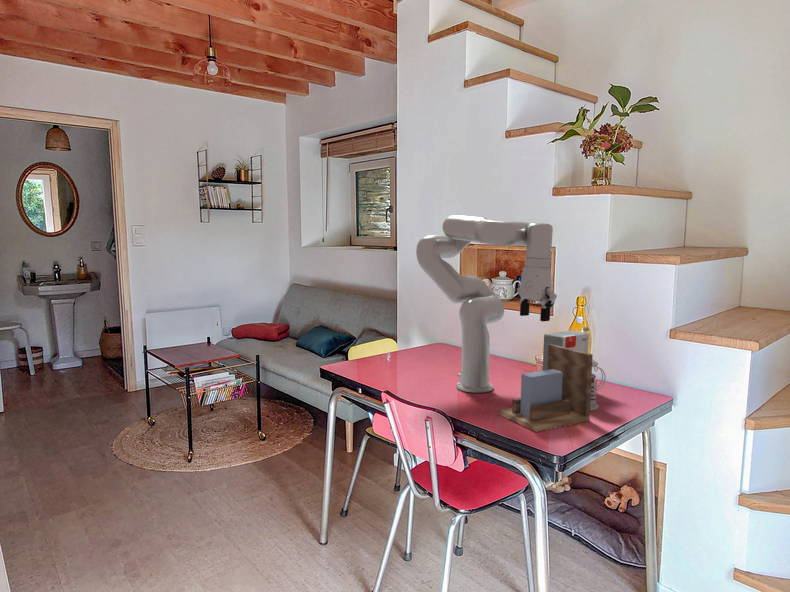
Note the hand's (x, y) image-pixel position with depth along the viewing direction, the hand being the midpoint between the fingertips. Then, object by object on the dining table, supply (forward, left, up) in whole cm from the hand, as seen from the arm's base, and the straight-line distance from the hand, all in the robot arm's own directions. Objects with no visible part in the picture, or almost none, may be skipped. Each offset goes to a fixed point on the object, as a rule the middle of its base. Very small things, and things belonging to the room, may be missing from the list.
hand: (534, 318), depth 167 cm
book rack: (+12, -6, -27) cm, 31 cm away
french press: (+9, +14, -28) cm, 32 cm away
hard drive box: (-6, +20, -28) cm, 34 cm away
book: (+12, -8, -26) cm, 30 cm away
